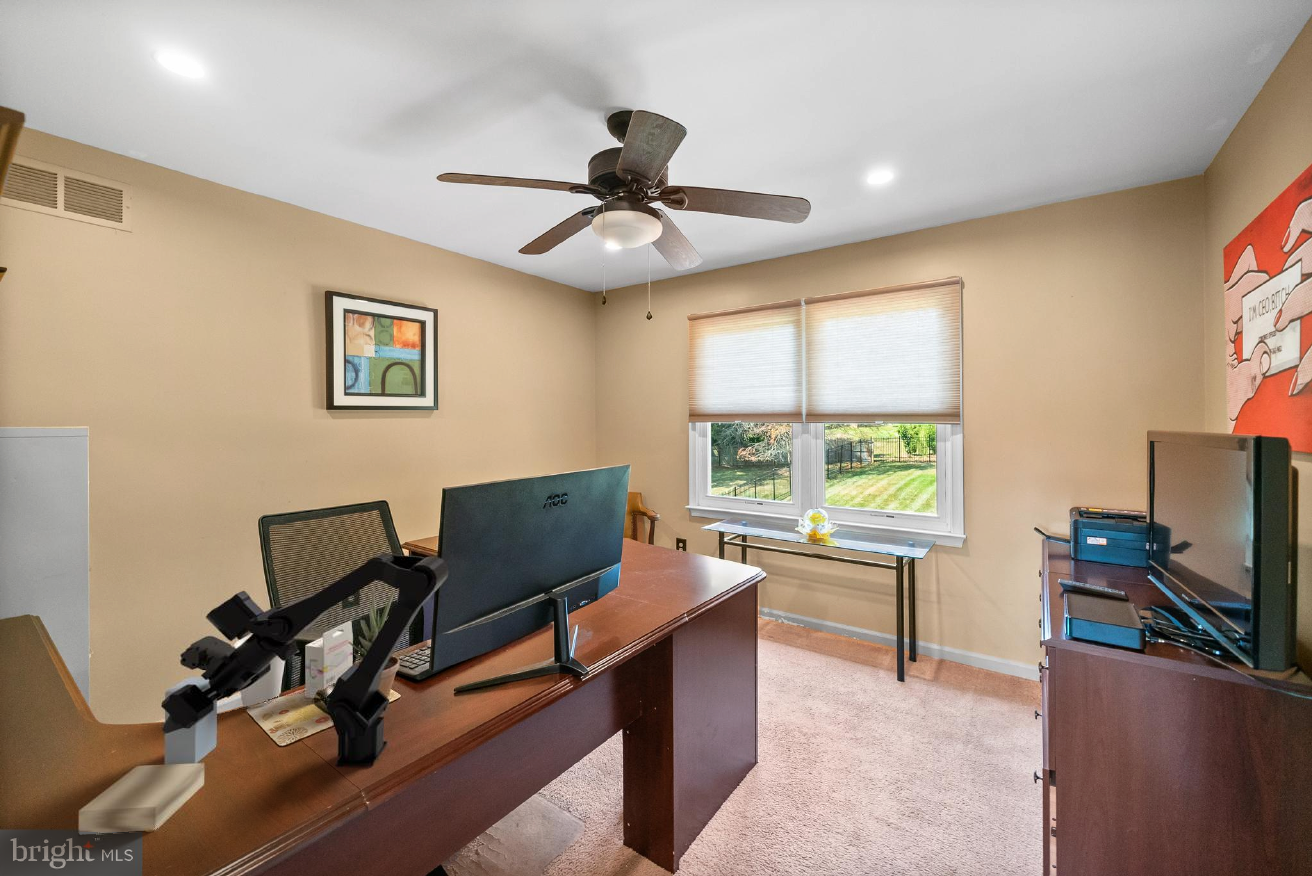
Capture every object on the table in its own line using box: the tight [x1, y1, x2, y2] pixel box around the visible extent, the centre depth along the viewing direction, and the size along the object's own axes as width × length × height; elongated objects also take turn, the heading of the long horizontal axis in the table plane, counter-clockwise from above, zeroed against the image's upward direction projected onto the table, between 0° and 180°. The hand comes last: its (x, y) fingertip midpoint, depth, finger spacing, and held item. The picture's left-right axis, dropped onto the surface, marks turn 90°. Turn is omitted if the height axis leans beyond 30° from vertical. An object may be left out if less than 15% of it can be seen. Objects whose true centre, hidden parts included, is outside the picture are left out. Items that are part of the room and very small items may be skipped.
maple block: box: [78, 762, 205, 833], centre depth 82 cm, size 10×10×4 cm
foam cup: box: [233, 635, 286, 708], centre depth 113 cm, size 10×9×13 cm
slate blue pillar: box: [164, 677, 218, 765], centre depth 94 cm, size 5×5×13 cm
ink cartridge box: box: [304, 620, 354, 699], centre depth 118 cm, size 9×5×15 cm, turn 168°
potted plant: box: [349, 585, 400, 698], centre depth 116 cm, size 10×10×25 cm
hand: (186, 715), depth 94 cm, fingers open, 9 cm apart
